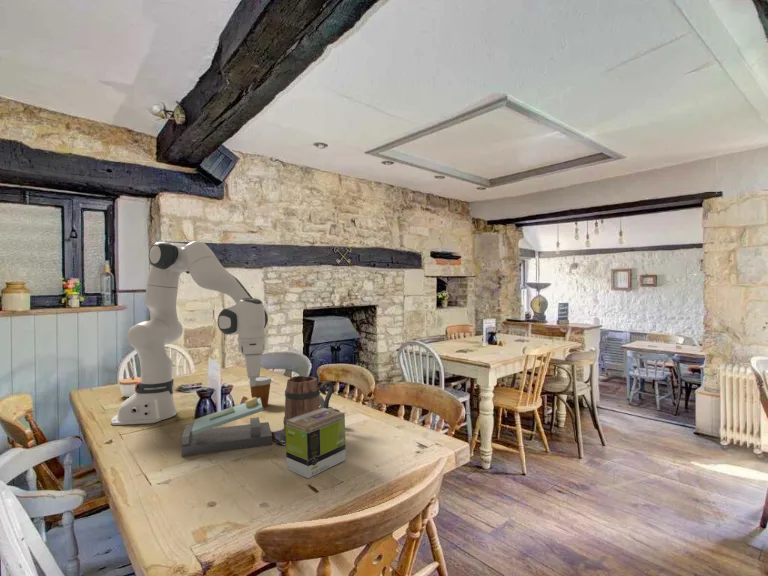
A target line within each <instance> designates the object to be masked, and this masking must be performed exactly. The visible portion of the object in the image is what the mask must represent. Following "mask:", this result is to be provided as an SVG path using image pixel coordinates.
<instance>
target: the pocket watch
mask: <svg viewBox="0 0 768 576" xmlns="http://www.w3.org/2000/svg"><path fill="white" fill-rule="evenodd" d="M321 394H322V393H321V391H319V409H320V408H323V407H324V402H325V398H324V396H322V395H321ZM328 409H330V410H333V409H334V408H333V407H332V406H328Z"/></svg>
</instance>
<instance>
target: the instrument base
mask: <svg viewBox="0 0 768 576" xmlns="http://www.w3.org/2000/svg"><path fill="white" fill-rule="evenodd" d="M193 425H194V423H186V425H185V427H184V430H183V433H182V437H181V457H191V456H197V455H204V454H205V455H206V454H213V453H219V452H226V451H235V450H241V449H249V448H250V449H251V448H256V447H262V446H270V445H271V446H272V445H273V434H272V429H271V426H270V423H269V422H268V421H266V422H261V421H260V417H250V418H249V424H240V425H231V426H223V427H215V428H212V429H209V430H206V431H203V432H200V433H197V434H194V435H192V428H193Z"/></svg>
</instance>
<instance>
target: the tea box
mask: <svg viewBox="0 0 768 576" xmlns="http://www.w3.org/2000/svg"><path fill="white" fill-rule="evenodd" d="M345 418H346V416H345V412H341V411H340V412H338V411H334V410H330V409H327V408H324V407H323V408H320V409H317V410H314V411H311V412H308V413H305V414H302V415H299V416H296V417H293V418H290V419H287V420H286V443H285V457H286V462H285V464H286V469H287V470H289V471H290V472H293V473H295V474H297V475H298V476H299V475H300V476H301V477H304V478H305V479H309V478H312V477H314V476H316V475H318V474H320V473H321V472H324V471H326V470H328V469H330V468H332V467H334V466H336V465H338V464H340V463H343V462H344V461H346V460H347V458H346V457H347V455H346V453H347V452H346V451H347V450H346V420H345Z"/></svg>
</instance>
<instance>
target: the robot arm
mask: <svg viewBox="0 0 768 576" xmlns="http://www.w3.org/2000/svg"><path fill="white" fill-rule="evenodd" d="M148 259H149V263H150V264H151V266H150V268H149V273H148V276H147V282H146V289H145V295H144V296H145V297H144V305H145V306H146V308H147V309H148V310H149V315H150V319H149V320H145V321H141V322H138V323H136V324H135V325H133V326H131V327H130V328H129V329H128V331H127V334H126V335H127V336H126V340H127V342H128V344H129V345H130V347H132V348H133V349H134V351H136V353H137V357H138V359H139V364H140V377H141V381H138V382H137V383H136V385H135V391H136V392H135V393H134V394H133V395H131V396H130V397H129V398H126V399H125V400H124V401H122V403H120V405H119V408H118V411H117V414H115V415H114V416H113V417H112V418H111V420H110V424H111V426H112V425H113V426H123V425H126V426H127V425H141V424H142V425H144V424H154V423H158V422H160V421H162V420H163V421H164V420H166V419H169V418H172V417H174V416H176V415H177V414H178V412H177V409H176V405H175V399H174V392H175V383H174V379H173V361H172V359H171V357H169V356H168V354H167V351H166V347H165V346H166V345H171V344H173V343H174V342H176V341H177V340H178V339H180V338H181V336H182V334H183V332H184V331H183V329H184V328H183V325H182V324H181V322H180V321H179V318H178V313H177V297H178V289H179V279H180V276H181V275H182V274H183V273H184V272H185V273H186V274H189V275H190V277H191V278H192V280H193V281H194V283H196V284H197V286H199V287H201V288H202V289H205V290H210V291H215V292H219V293H221V294H224V295H227V296H229V298H231V299H232V300H233V301H234V302H235V304H234V305H231V306H229V307H227V308H224V309H222V310H221V311H220V312H219V314H218V316H217V327H218V329H219V331H220V332H221V333H222V334H224V335H227V336H228V335H229V336H233V335H238V337H237V339H238V341H237V342H238V344H237V345H238V346H237V347H238V352H240V353H241V354H242V355H241V356H243V357H244V361H245V367H246V375H247V379H249V381H250V383H249V387H250V386H251V387H254V386H255V385H256V378H258V377H259V376H261V369H262V367H261V366H262V358H263V357H262V354H264V351H266V333H265V329H266V327H267V326H268V322H269V316H268V312H267V311H266V310H265V306H264V304H263V301H262V300H260V299H259V298H254V297H253V296H252V295H251V294H250V293H249V292H248V291H249V290H247V289H246V288H245V286H244V285H243V284H242V283H241V281H240V280H239V279H238V278H237V277H236V276H234V275H233V274H232V273H230V271H228V270H227V269H226V268H225V267H224V266H223V265H222V264H221V262H220V260H219V259H218V257H217V256H216V255H215V253H214V252H213V251H212V249H211V248H210V247H209V246H208V245H207V244H206V242H203V241H199V240H195V241H190V242H189V243H182V242H168V241H156V242H155V243H153V244H152V245H151V247H150V248H149V251H148Z"/></svg>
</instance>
